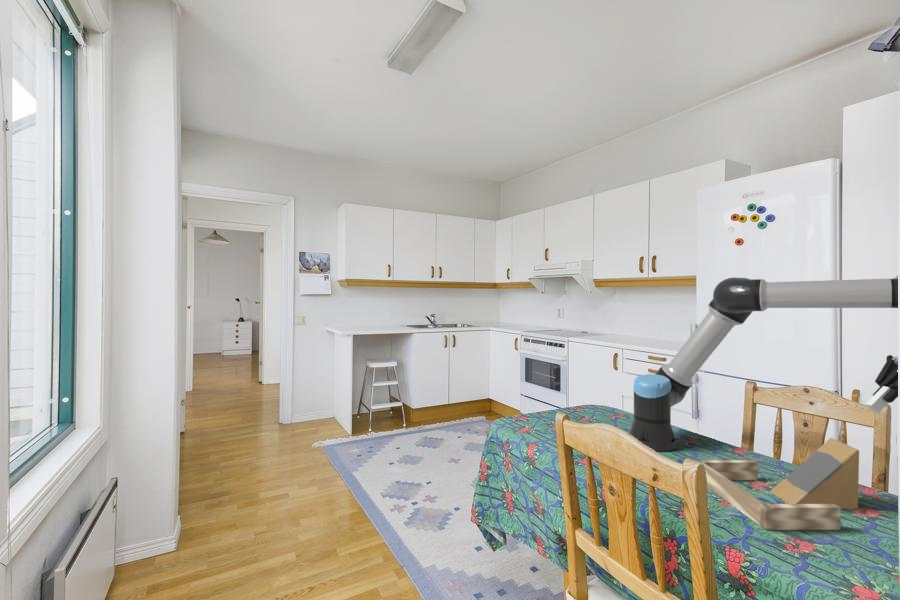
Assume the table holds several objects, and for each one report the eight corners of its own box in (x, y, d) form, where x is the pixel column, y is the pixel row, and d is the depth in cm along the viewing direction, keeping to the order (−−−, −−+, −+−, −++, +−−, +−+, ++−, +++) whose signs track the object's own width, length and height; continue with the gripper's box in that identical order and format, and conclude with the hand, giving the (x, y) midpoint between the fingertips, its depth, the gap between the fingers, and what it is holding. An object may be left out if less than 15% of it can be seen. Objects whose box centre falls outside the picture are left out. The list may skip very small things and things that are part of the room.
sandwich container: (767, 490, 111) (768, 435, 110) (829, 493, 109) (830, 437, 109) (791, 507, 102) (791, 447, 102) (858, 510, 101) (859, 449, 100)
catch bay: (753, 477, 118) (753, 460, 118) (840, 529, 92) (840, 507, 92) (695, 477, 118) (695, 460, 118) (765, 530, 92) (766, 507, 92)
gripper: (981, 356, 98) (911, 427, 98) (918, 349, 111) (856, 411, 111) (959, 334, 98) (889, 405, 98) (899, 329, 111) (837, 392, 111)
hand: (872, 408), depth 105 cm, fingers closed
